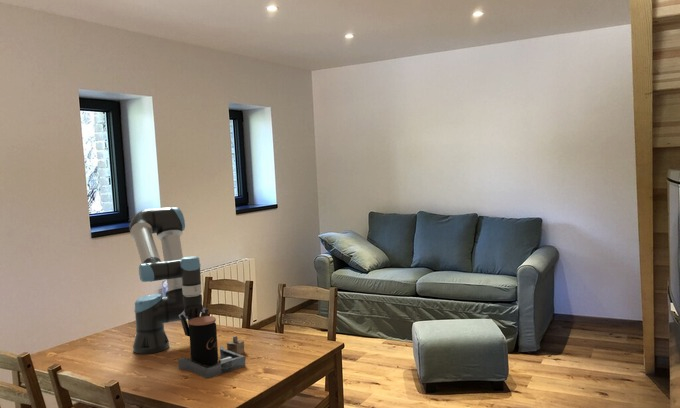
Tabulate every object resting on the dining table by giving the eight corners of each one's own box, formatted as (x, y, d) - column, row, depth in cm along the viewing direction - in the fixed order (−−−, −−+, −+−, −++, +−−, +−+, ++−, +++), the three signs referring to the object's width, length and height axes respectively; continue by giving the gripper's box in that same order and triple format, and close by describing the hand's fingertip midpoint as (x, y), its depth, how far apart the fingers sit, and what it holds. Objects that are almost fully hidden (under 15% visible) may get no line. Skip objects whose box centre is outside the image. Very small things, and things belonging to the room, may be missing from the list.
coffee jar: (211, 368, 221) (208, 323, 220) (186, 367, 224) (183, 322, 223) (223, 359, 232) (220, 316, 230) (199, 358, 234) (196, 315, 233)
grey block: (227, 355, 237) (226, 337, 237) (234, 351, 242) (233, 334, 241) (237, 356, 235) (236, 338, 235) (244, 352, 240) (243, 335, 239)
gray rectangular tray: (178, 368, 223) (177, 355, 222) (222, 355, 237) (222, 342, 237) (203, 380, 209) (202, 366, 209) (249, 364, 224) (248, 352, 224)
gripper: (182, 299, 224) (186, 357, 225) (211, 292, 233) (214, 349, 234) (173, 296, 229) (176, 353, 230) (201, 290, 238) (204, 345, 240)
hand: (195, 351), depth 232 cm, fingers closed
